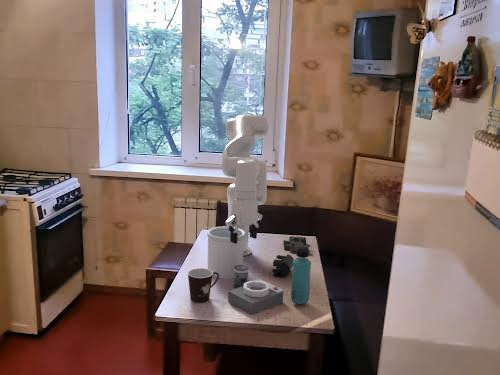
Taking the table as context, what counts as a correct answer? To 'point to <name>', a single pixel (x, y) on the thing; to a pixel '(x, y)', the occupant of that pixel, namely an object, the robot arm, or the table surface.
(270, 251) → the table surface
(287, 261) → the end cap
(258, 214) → the robot arm
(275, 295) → the camera body
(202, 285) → the coffee mug
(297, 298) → the beverage bottle
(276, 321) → the table surface
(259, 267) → the table surface
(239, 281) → the lens
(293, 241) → the binoculars
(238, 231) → the utensil holder
